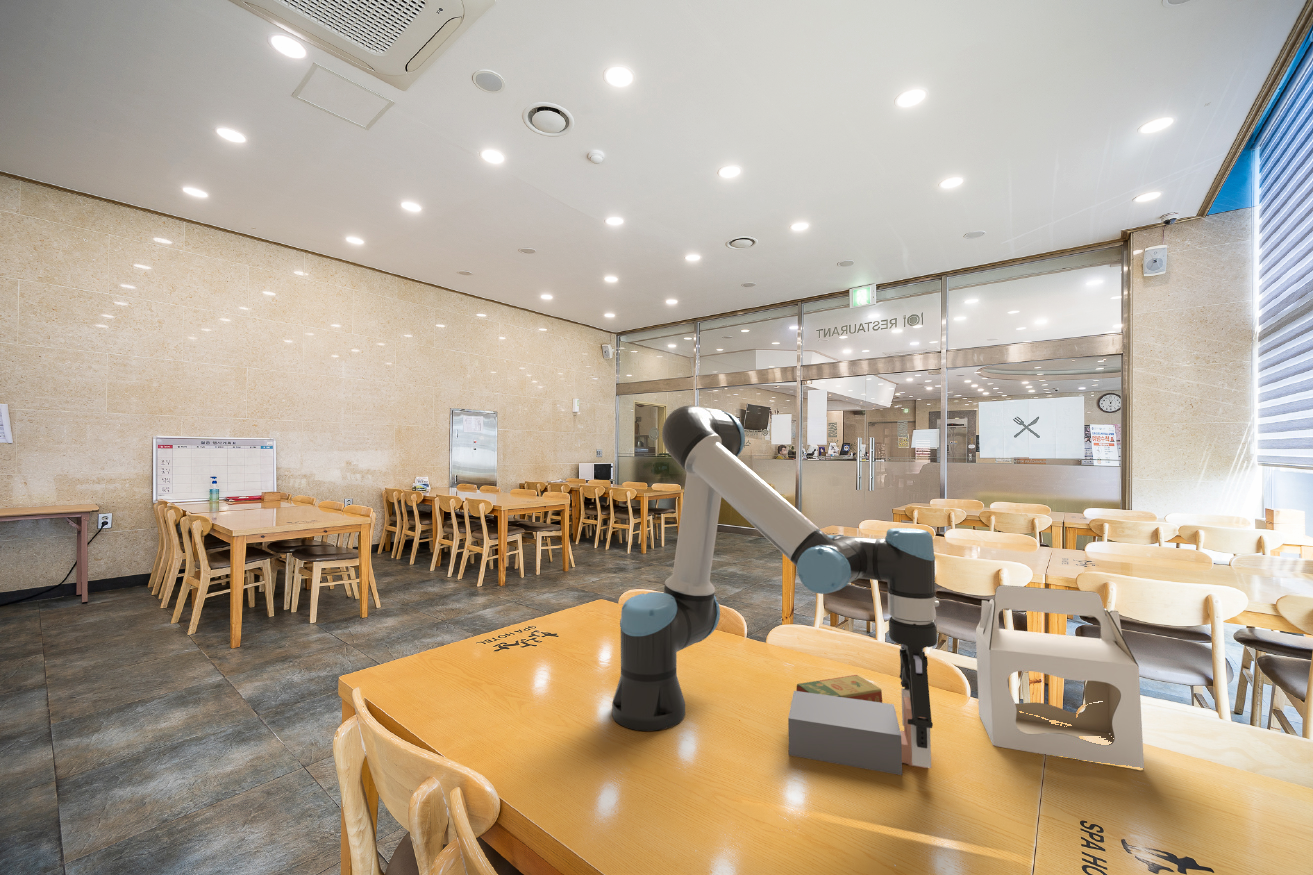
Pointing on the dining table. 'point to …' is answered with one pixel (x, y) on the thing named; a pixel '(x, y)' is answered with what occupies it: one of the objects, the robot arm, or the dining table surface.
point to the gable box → (1066, 658)
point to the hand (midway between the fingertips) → (915, 744)
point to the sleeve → (845, 732)
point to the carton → (844, 688)
